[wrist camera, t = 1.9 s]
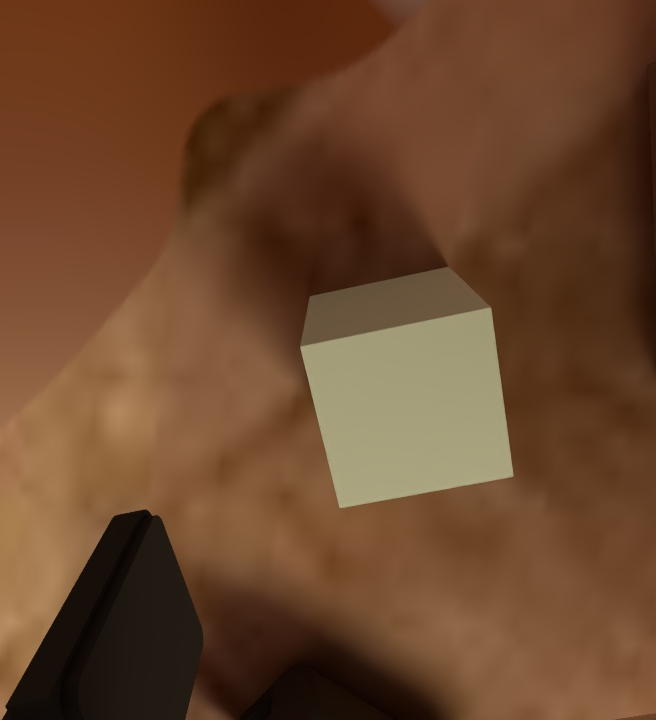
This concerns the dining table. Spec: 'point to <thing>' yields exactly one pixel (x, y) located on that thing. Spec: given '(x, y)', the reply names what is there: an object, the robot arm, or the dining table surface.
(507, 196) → the dining table surface
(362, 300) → the green block
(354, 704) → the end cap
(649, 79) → the walnut slab
